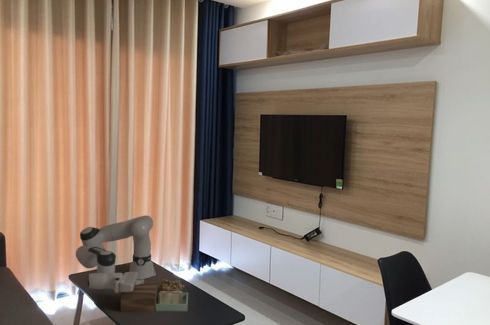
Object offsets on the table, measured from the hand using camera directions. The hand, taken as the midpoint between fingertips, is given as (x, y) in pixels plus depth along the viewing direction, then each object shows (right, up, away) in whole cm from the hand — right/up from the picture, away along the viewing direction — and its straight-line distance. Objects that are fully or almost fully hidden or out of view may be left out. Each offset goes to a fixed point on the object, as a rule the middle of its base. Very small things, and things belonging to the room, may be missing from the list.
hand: (144, 281), depth 230 cm
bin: (+15, -15, +6) cm, 22 cm away
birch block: (+8, -11, +6) cm, 15 cm away
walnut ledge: (-3, -14, +4) cm, 15 cm away
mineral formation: (+11, -14, +22) cm, 28 cm away
